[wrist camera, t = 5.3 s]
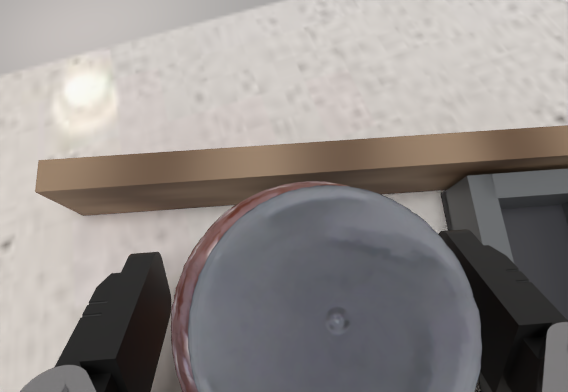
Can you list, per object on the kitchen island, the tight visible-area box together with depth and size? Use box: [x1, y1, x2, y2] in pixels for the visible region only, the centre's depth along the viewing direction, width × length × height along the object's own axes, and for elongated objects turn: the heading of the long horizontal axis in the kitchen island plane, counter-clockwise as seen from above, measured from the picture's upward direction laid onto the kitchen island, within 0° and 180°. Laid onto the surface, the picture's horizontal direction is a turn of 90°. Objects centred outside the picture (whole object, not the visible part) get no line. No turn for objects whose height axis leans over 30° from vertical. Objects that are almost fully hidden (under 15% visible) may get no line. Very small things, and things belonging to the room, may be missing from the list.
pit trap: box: [441, 169, 568, 392], centre depth 15 cm, size 6×9×2 cm, turn 5°
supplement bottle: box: [171, 181, 482, 392], centre depth 10 cm, size 6×6×11 cm
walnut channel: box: [35, 125, 568, 216], centre depth 14 cm, size 22×12×4 cm, turn 95°
